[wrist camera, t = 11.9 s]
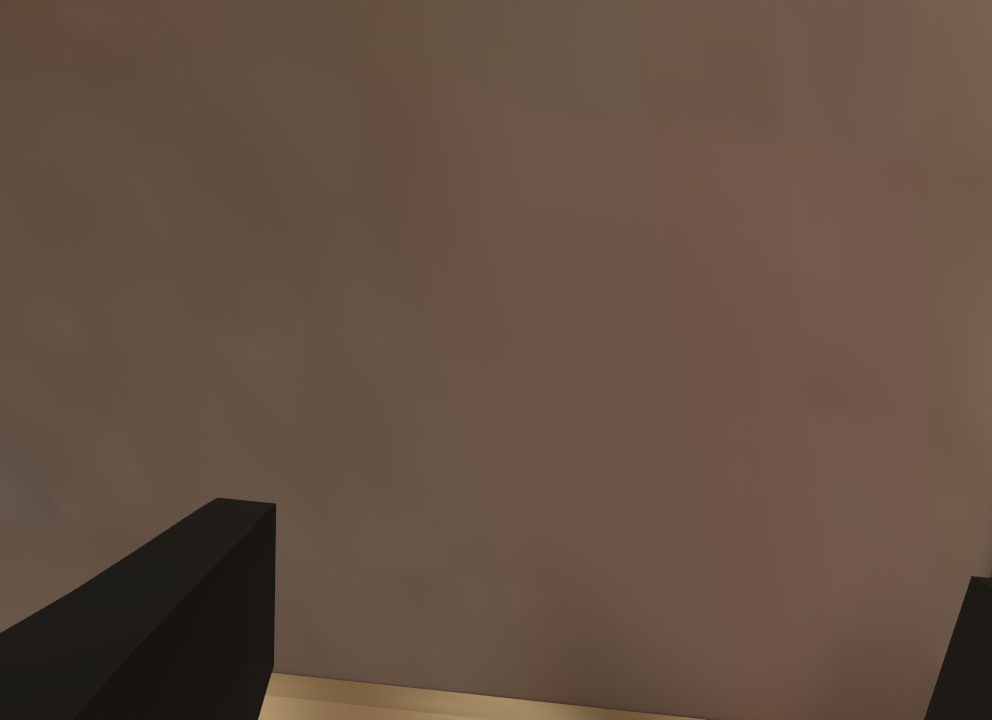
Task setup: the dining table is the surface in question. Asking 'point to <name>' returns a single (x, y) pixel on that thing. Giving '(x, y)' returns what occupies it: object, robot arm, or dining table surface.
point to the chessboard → (413, 704)
